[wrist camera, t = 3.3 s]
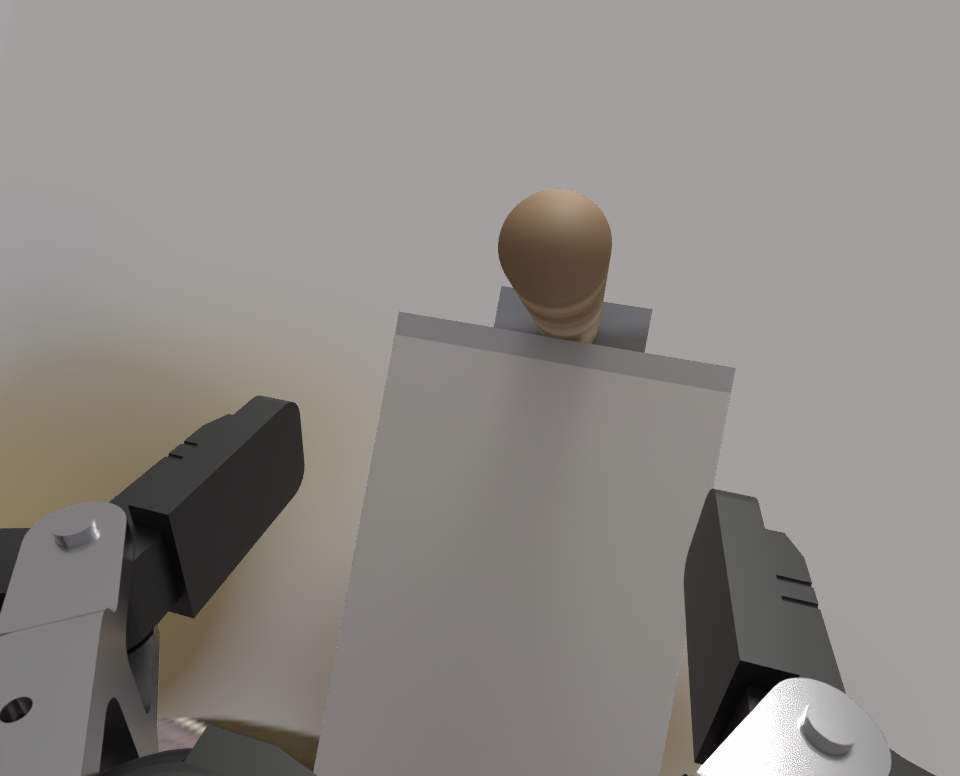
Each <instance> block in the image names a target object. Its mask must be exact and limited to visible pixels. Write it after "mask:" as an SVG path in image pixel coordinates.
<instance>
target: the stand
mask: <svg viewBox="0 0 960 776" xmlns="http://www.w3.org/2000/svg"><path fill="white" fill-rule="evenodd" d="M734 374H735V368H732V367H726V366H719V365H714V364H708V363H701V362H696V361H690V360H684V359H678V358H672V357H666V356H660V355H654V354H648V353H642V352H636V351H630V350H624V349H618V348H612V347H606V346H600V345H595V344H589V343H583V342H577V341H571V340H565V339H559V338H553V337H547V336H541V335H535V334H529V333H523V332H517V331H511V330H505V329H499V328H493V327H486V326H481V325H475V324H469V323H463V322H457V321H451V320H445V319H439V318H433V317H427V316H421V315H415V314H410V313H403V312H399V315H398V321H397V326H396V331H395V337H394V342H393V348H392V353H391V358H390V364H389V369H388V374H387V380H386V385H385V390H384V396H383V402H382V408H381V412H380V418H379V423H378V428H377V433H376V439H375V444H374V450H373V455H372V461H371V466H370V471H369V477H368V482H367V487H366V493H365V498H364V503H363V509H362V515H361V519H360V525H359V530H358V535H357V541H356V546H355V552H354V557H353V562H352V568H351V573H350V579H349V584H348V589H347V595H346V600H345V606H344V611H343V616H342V622H341V628H340V632H339V638H338V643H337V648H336V654H335V659H334V664H333V670H332V676H331V681H330V686H329V691H328V697H327V702H326V707H325V713H324V718H323V724H322V729H321V734H320V740H319V745H318V750H317V756H316V761H315V767H314V772H313V773H314V774H315V775H317V776H659V774H660V769H661V764H662V758H663V753H664V748H665V742H666V737H667V732H668V726H669V721H670V715H671V710H672V704H673V700H674V694H675V689H676V683H677V678H678V673H679V668H680V662H681V657H682V651H683V646H684V641H685V635H686V618H685V602H684V570H685V563H686V558H687V554H688V551H689V547H690V544H691V541H692V538H693V535H694V532H695V529H696V526H697V523H698V520H699V517H700V514H701V511H702V508H703V505H704V502H705V499H706V497H707V494H708V492H709V491H710V490H711V489H713V485H714V480H715V475H716V470H717V464H718V459H719V454H720V448H721V443H722V438H723V432H724V426H725V421H726V416H727V411H728V406H729V400H730V395H731V390H732V384H733V379H734Z"/></svg>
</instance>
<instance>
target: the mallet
mask: <svg viewBox="0 0 960 776" xmlns="http://www.w3.org/2000/svg"><path fill="white" fill-rule="evenodd" d="M611 248H612V237H611V230H610V227H609V224H608V222H607V219H606V217H605V216H604V214H603V212H602V211H601V210H600V209H599V207H598V206H597V205H596V204H595V203H594V202H593V201H591V200H590V199H588V198H587V197H586V196H584V195H581V194H579V193H577V192H573V191H570V190H564V189H550V190H545V191H541V192H538V193H535V194H533V195H531V196H529V197H527V198H526V199H524V200H523V201H521V202H520V203H519V204H518V205H517V206H516V207H515V208H514V209H513V210H512V211H511V212H510V214H509V215H508V217H507V218H506V220H505V222H504V224H503V226H502V229H501V232H500V236H499V242H498V253H499V259H500V263H501V266H502V268H503V271H504V273H505V275H506V276H507V278H508V279H509V281H510V283H511V284H512V286H513V288H510V287H504V286H503V287H501V292H500V297H499V302H498V308H497V313H496V319H495V324H494V328H499V329H505V330H511V331H517V332H523V333H529V334H535V335H541V336H547V337H553V338H559V339H565V340H571V341H577V342H583V343H589V344H595V345H600V346H606V347H612V348H618V349H624V350H630V351H636V352H642V353H644V352H645V346H646V341H647V336H648V329H649V325H650V320H651V314H652V309H646V308H640V307H633V306H626V305H620V304H613V303H607V302H603V298H604V293H605V287H606V280H607V274H608V268H609V262H610V256H611Z"/></svg>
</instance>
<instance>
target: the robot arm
mask: <svg viewBox="0 0 960 776" xmlns="http://www.w3.org/2000/svg"><path fill="white" fill-rule="evenodd" d="M303 474H304V454H303V444H302V432H301V421H300V412H299V408H298V406H297V405H296V403H294V402H289V401H284V400H279V399H275V398H269V397H265V396H256V397H254V398H253V399H251V400H250V401H249V402H248V403H247V404H246V405H244V406H243V407H242V408H241V409H240V410H239V411H237V412H236V413H235V414H234V415H230V414H228V415H226V416H223V417H221V418H219V419H217V420H214V421H212V422H210V423H208V424H205V425H203V426H202V427H201V428H199V429H198V430H197V431H196V432H195V433H193V434H192V435H191V436H190V437H188V438H187V439H186V440H185V441H184V444H180V445H179V446H177V447H176V448H175V449H174V450H172V451H171V452H170V453H169V456H168V457H164V458H163V459H162V460H160V461H159V462H158V463H157V464H155V465H154V466H153V467H152V468H150V469H149V470H148V471H147V472H145V474H143V475H142V476H141V477H139V478H138V479H137V480H136V481H135V482H133V483H132V484H131V485H130V486H128V487H127V488H126V489H125V490H124V491H122V492H121V493H120V494H119V495H117V496H116V497H115V498H114V499H112V500H111V501H110V502H109V503H107V502H85V503H79V504H75V505H71V506H68V507H65V508H62V509H60V510H57V511H55V512H53V513H51V514H49V515H48V516H46V517H44V518H43V519H41V520H40V521H38V522H37V523H36V524H35V525H34V526H33V527H32V528H12V529H11V528H9V529H0V776H317V775H315V774H314V773H313V772H311V771H310V770H308V769H307V768H306V767H304V766H303V765H301V764H300V763H299V762H297V761H296V760H295V759H293V758H292V757H290V756H289V755H288V754H286V753H285V752H283V751H282V750H281V749H279V748H278V747H276V746H274V745H271V744H268V743H265V742H262V741H259V740H255V739H252V738H249V737H246V736H243V735H240V734H236V733H233V732H230V731H227V730H224V729H221V728H218V727H214V726H211V725H208V726H207V727H206V729H205V730H204V732H203V733H202V735H201V736H200V738H199V739H198V741H197V742H196V744H195V746H194V747H193V748H185V749H177V750H168V751H163V752H159V746H158V736H157V709H158V708H157V707H158V680H159V649H160V631H159V627H158V623H159V622H160V620H161V619H162V618H163V617H164V616H165V615H166V614H167V612H168V611H170V612H173V613H177V614H180V615H184V616H187V617H191V618H195V616H196V615H197V614H198V613H199V611H200V610H201V609H202V608H203V607H204V605H205V604H206V603H207V602H208V600H209V599H210V598H211V597H212V596H213V594H214V593H215V592H216V591H217V589H218V588H219V587H220V586H221V585H222V583H223V582H224V581H225V580H226V578H227V577H228V576H229V575H230V574H231V572H232V571H233V570H234V569H235V567H236V566H237V565H238V564H239V563H240V561H241V560H242V559H243V558H244V557H245V555H246V554H247V553H248V552H249V550H250V549H251V548H252V547H253V546H254V544H255V543H256V542H257V541H258V539H259V538H260V537H261V536H262V535H263V533H264V532H265V531H266V530H267V528H268V527H269V526H270V525H271V524H272V522H273V521H274V520H275V519H276V517H277V516H278V515H279V513H280V512H281V511H282V510H283V509H284V508H285V506H286V505H287V504H288V503H289V501H290V500H291V499H292V498H293V497H294V495H295V494H296V493H297V491H298V489H299V487H300V485H301V482H302V479H303ZM811 584H812V582H811V578H810V575H809V572H808V569H807V565H806V562H805V559H804V557H803V556H802V555H801V553H800V552H799V551H798V549H797V548H796V547H795V546H794V544H793V543H792V542H791V541H790V539H789V538H788V537H787V536H786V534H785V533H781V532H777V531H772V530H767V529H765V527H764V523H763V519H762V515H761V511H760V507H759V503H758V500H757V499H756V498H755V497H751V496H746V495H740V494H736V493H731V492H726V491H721V490H716V489H711V490H710V491H709V492H708V494H707V497H706V499H705V502H704V505H703V508H702V511H701V514H700V517H699V520H698V523H697V526H696V529H695V532H694V535H693V538H692V541H691V544H690V547H689V551H688V554H687V558H686V563H685V570H684V602H685V618H686V634H687V649H688V666H689V682H690V698H691V699H690V700H691V716H692V732H693V748H694V762H695V763H698V764H702V766H701V767H700V768H699V769H698V770H697V772H695V773H694V775H692V776H935V775H933V774H931V773H929V772H927V771H926V770H924V769H922V768H920V767H918V766H916V765H915V764H913V763H911V762H909V761H907V760H906V759H904V758H903V757H901V756H900V755H898V754H897V753H895V752H894V751H892V750H891V749H890V748H889V746H888V743H887V741H886V738H885V736H884V734H883V732H882V731H881V730H880V728H879V726H878V725H877V723H876V722H875V721H874V719H873V718H872V717H871V716H870V715H869V714H868V713H867V712H866V711H865V709H864V708H863V707H861V705H859V704H858V703H857V702H856V701H854V700H853V699H852V698H851V697H849V696H848V695H846V692H845V689H844V686H843V683H842V679H841V676H840V674H839V670H838V667H837V663H836V660H835V657H834V653H833V650H832V647H831V644H830V640H829V637H828V634H827V631H826V627H825V625H824V621H823V618H822V614H821V611H820V609H818V601H817V598H816V595H815V591H814V588H811ZM682 776H687V775H686V774H684V775H682Z"/></svg>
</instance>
